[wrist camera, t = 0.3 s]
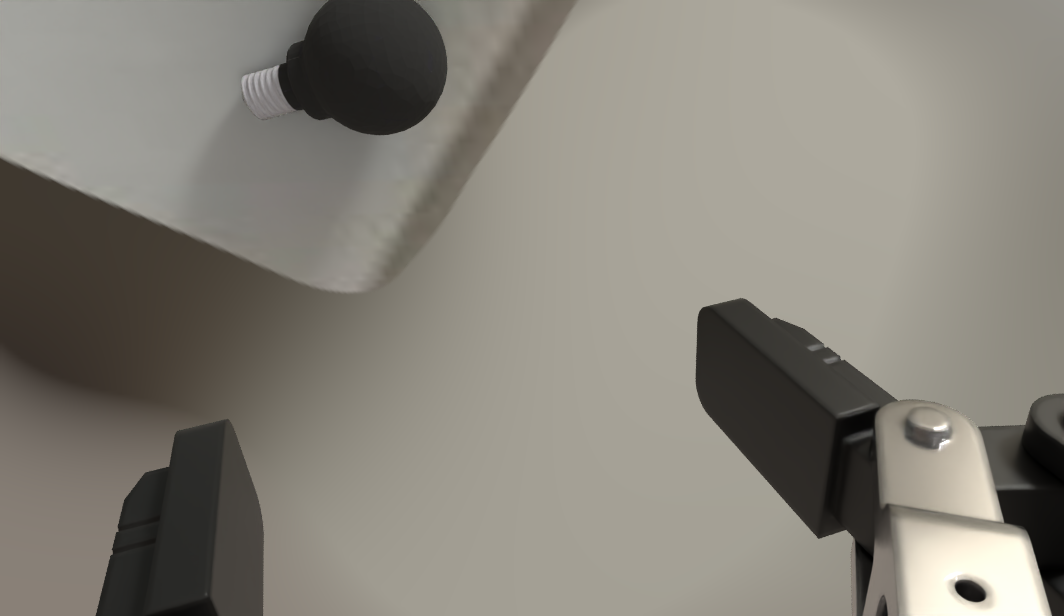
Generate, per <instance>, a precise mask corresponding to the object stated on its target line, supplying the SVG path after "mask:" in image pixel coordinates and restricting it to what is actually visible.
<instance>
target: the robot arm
mask: <svg viewBox="0 0 1064 616" xmlns="http://www.w3.org/2000/svg"><path fill="white" fill-rule="evenodd" d="M696 388H697V392H698V396H699V399H700V401H701V404H702V406H703V408H704V409H705V411H706V412H707V413H708V415H709V416H710V417H711V418H712V419H713V421H714V422H715V423H716V424H717V425H718V426H719V427H720V428H721V429H722V430H723V432H724V433H725V434H726V435H727V436H728V437H729V439H730V440H731V441H732V442H733V443H734V444H735V445H736V446H737V447H738V449H739V450H740V451H741V452H742V453H743V454H744V455H745V456H746V458H747V459H748V460H749V461H750V462H751V463H752V464H753V466H754V467H755V468H756V469H757V470H758V471H759V472H760V473H761V475H762V476H763V477H764V478H765V479H766V480H767V481H768V482H769V484H770V485H771V486H772V487H773V488H774V489H775V490H776V491H777V493H779V495H780V496H781V497H782V498H783V499H784V500H785V502H786V503H787V504H788V505H789V506H790V507H791V508H792V509H793V511H794V512H795V513H796V514H797V515H798V516H799V517H800V518H801V519H802V521H803V522H804V523H805V524H806V525H807V526H808V527H809V528H810V530H811V531H812V532H813V533H814V534H815V535H816V536H817V538H818V539H819V538H822V537H826V536H828V535H832V534H835V533H838V532H841V531H844V530H847V531H848V532H849V533H850V534H851V535H852V536H853V537H854V538H853V543H852V549H851V588H852V590H851V591H852V616H1064V394H1052V395H1047V396H1044V397H1041V398H1039V399H1038V400H1036V401H1035V402H1034V403H1033V404H1032V406H1031V408H1030V412H1029V415H1028V418H1027V421H1026V425H1017V426H1016V425H1015V426H990V427H977V426H976V424H975V423H974V422H973V421H972V420H971V419H969V418H968V417H967V416H965V415H964V414H962V413H960V412H959V411H957V410H954V409H952V408H950V407H948V406H945V405H942V404H938V403H935V402H929V401H924V400H900V401H898V400H896V399H895V398H894V397H892V396H891V395H890V394H889V393H887V392H886V391H885V390H883V389H882V388H881V387H879V386H878V385H876V384H875V383H874V382H873V381H872V380H870V379H869V378H868V377H866V376H865V375H863V374H862V373H861V372H860V371H858V370H857V369H856V368H854V367H853V366H852V365H850V364H849V363H848V362H846V361H845V360H841V359H840V356H839V355H837V354H836V353H835V352H833V351H832V350H831V349H830V348H828V347H827V348H825V347H824V344H823V343H822V342H820V341H819V340H818V339H816V338H815V337H814V336H813V335H811V334H810V333H808V332H807V331H806V330H805V329H803V328H800V327H798V326H795V325H793V324H790V323H788V322H785V321H783V320H780V319H777V318H773V319H771V318H769V317H768V316H767V315H766V314H764V313H763V312H762V311H760V310H759V309H758V308H756V307H755V306H754V305H753V304H752V303H750V302H749V301H748V300H746V299H743V298H740V299H736V300H731V301H727V302H723V303H719V304H715V305H710V306H707V307H703V308H702V309H701V310H700V312H699V315H698V322H697V353H696ZM118 529H119V532H116V536H115V540H114V544H113V548H112V550H113V555H111V556H110V560H109V564H108V568H107V572H106V576H105V580H104V585H103V588H102V593H101V597H100V601H99V605H98V609H97V613H96V616H263V544H264V541H263V540H264V539H263V538H264V532H263V521H262V515H261V509H260V505H259V501H258V497H257V494H256V491H255V488H254V485H253V482H252V479H251V476H250V473H249V471H248V468H247V465H246V462H245V459H244V456H243V454H242V450H241V447H240V445H239V442H238V439H237V436H236V433H235V431H234V428H233V426H232V424H231V422H230V421H229V420H228V419H226V420H221V421H217V422H213V423H209V424H205V425H200V426H196V427H192V428H188V429H184V430H179V431H177V432H176V434H175V437H174V443H173V449H172V454H171V460H170V465H169V467H166V468H162V469H158V470H154V471H150V472H146V473H145V474H144V475H143V476H142V478H141V479H140V480H139V481H138V483H137V484H136V485H135V487H134V488H133V490H132V491H131V492H130V493H129V495H128V496H127V497H126V498H125V500H124V503H123V507H122V512H121V516H120V520H119V524H118Z"/></svg>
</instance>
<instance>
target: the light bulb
mask: <svg viewBox="0 0 1064 616" xmlns="http://www.w3.org/2000/svg"><path fill="white" fill-rule="evenodd" d="M286 62H287V63H284V64H281V65H280V66H275V67H274V68H268V69H264V70H262V71H257V72H255V73H250V74H249V75H244V76H243V77H242V80H241V88H242V95H243V100H244V102H245V103H246V105H247V106H248V108H249V109H250V110H251V112H252V113H253V114H254V115H255V116H256V117H258V118H259V119H262V120H267V119H268V118H273V117H275V116H276V117H278V116H280V115H285V114H286V113H291V112H294V111H298V110H302V109H304V110H305V112H306V113H307V114H308V115H309V116H311V117H312V118H314V119H317V120H323V119H327V118H333V119H335V120H336V121H338V122H339V123H341V124H342V125H344V126H346V127H348V128H350V129H352V130H355V131H358V132H361V133H365V134H372V135H389V134H394V133H398V132H401V131H405V130H407V129H409V128H411V127H412V126H414V125H416V124H418V123H419V122H420V121H422V120H423V119H424V118H425V117H426V116H427V115H428V114H429V113H430V112H431V110H432V109H433V108H434V107H435V105H436V103H437V101H438V100H439V98H440V96H441V94H442V92H443V88H444V85H445V81H446V75H447V56H446V50H445V46H444V43H443V40H442V36H441V34H440V32H439V30H438V28H437V26H436V25H435V23H434V21H433V20H432V19H431V17H430V16H429V15H428V13H427V12H426V11H425V10H424V9H423V8H422V7H421V6H420V5H418V4H417V3H416V2H415V1H413V0H329V1H328V2H327V3H325V5H324V6H323V7H322V8H321V9H320V10H319V11H318V13H317V14H316V15H315V16H314V18H313V20H312V22H311V24H310V25H309V28H308V31H307V34H306V37H305V40H304V41H301V42H298V43H295V44H293V45H292V46H291V47H290V49H289V50H288V53H287V61H286Z"/></svg>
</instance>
